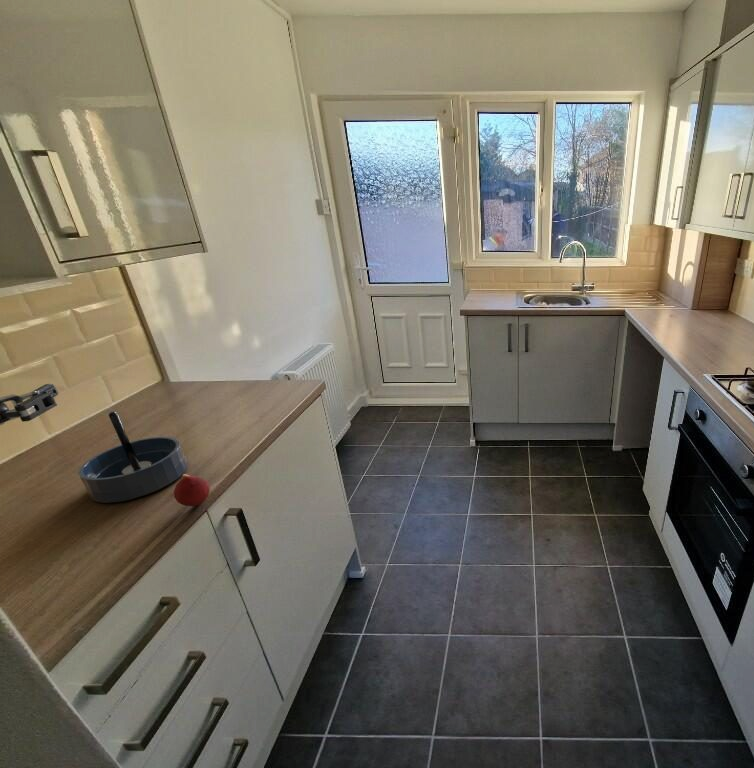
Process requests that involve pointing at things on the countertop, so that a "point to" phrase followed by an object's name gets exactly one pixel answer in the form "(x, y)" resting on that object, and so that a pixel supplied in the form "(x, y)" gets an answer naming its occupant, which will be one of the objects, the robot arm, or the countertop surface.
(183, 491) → the onion
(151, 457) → the bowl
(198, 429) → the countertop surface
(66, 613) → the countertop surface
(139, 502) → the countertop surface
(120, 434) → the weighted rod stand
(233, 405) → the countertop surface
